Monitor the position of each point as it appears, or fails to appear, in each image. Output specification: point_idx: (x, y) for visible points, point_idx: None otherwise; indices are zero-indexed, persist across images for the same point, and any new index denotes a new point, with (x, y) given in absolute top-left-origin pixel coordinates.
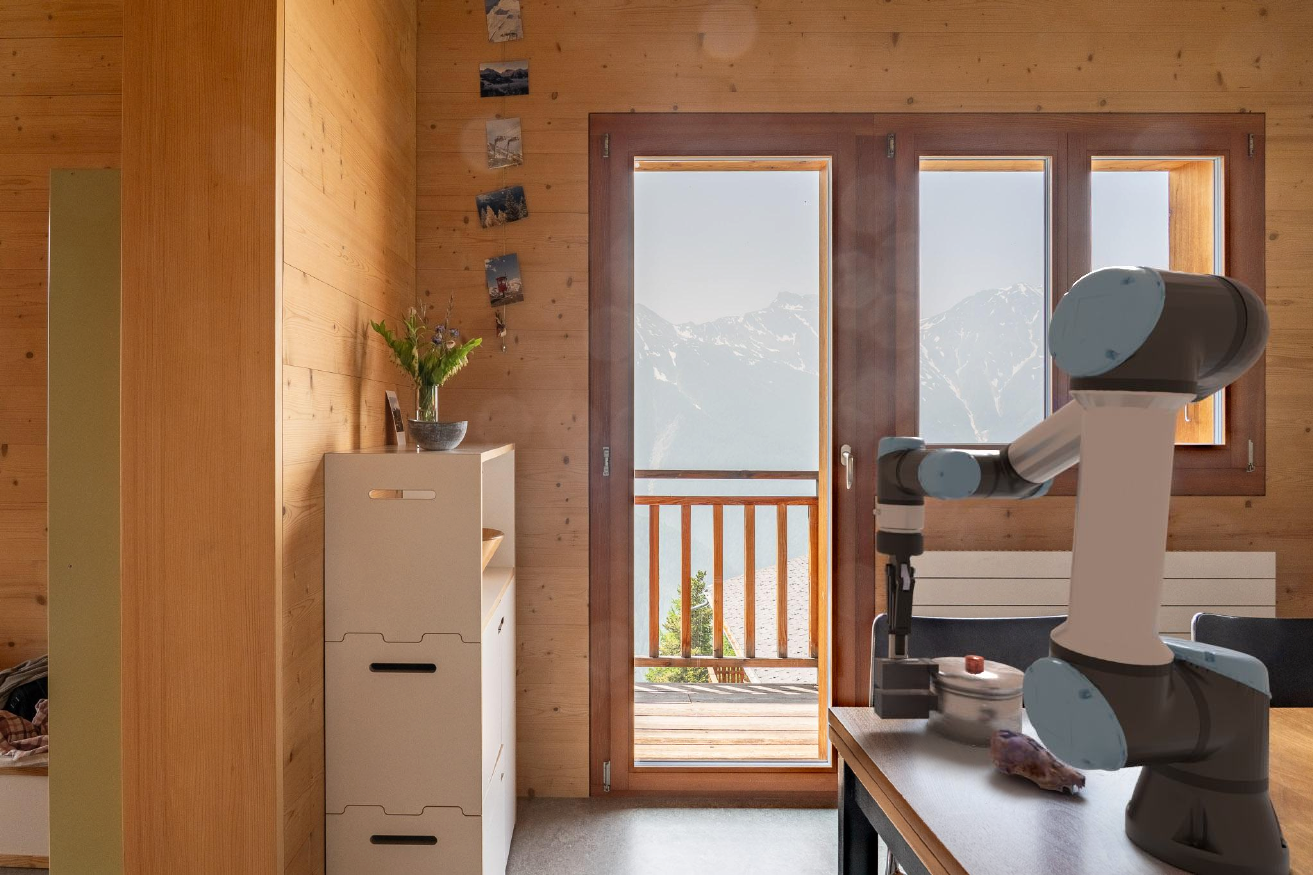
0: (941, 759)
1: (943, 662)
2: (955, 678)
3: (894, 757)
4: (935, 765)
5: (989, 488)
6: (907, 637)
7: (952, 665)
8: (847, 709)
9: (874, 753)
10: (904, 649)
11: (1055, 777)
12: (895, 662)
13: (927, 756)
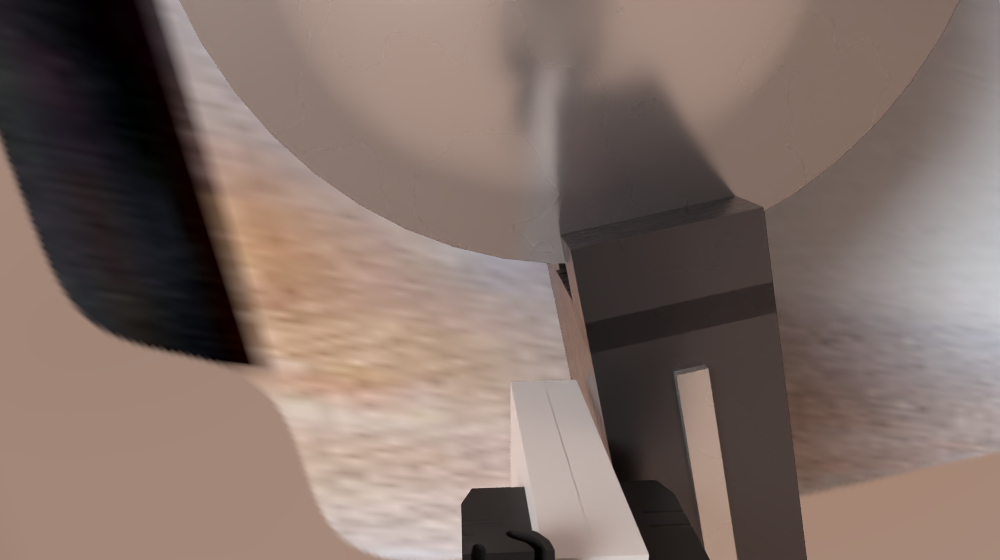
0: (915, 202)
1: (386, 73)
2: (870, 93)
3: (905, 390)
4: (977, 242)
5: None
6: (641, 539)
7: (471, 12)
8: (347, 519)
9: (870, 459)
10: (683, 513)
11: None
12: (758, 543)
13: (886, 255)
